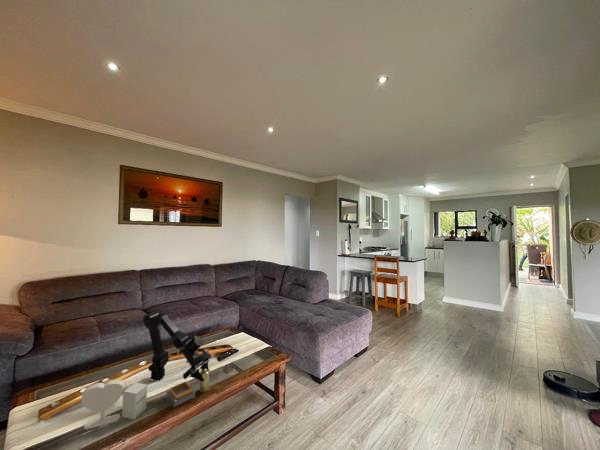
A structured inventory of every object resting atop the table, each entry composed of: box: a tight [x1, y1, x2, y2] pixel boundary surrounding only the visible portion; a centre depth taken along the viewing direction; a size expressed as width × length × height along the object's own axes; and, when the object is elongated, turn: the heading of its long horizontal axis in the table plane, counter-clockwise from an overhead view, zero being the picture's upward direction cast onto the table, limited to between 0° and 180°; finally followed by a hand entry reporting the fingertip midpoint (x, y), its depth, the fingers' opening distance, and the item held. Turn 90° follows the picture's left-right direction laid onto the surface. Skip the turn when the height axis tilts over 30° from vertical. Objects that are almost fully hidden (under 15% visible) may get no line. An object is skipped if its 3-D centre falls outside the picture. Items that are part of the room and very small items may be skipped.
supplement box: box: [121, 382, 148, 420], centre depth 124 cm, size 7×7×13 cm
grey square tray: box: [165, 381, 196, 408], centre depth 136 cm, size 11×11×5 cm
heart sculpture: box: [80, 379, 125, 430], centre depth 118 cm, size 16×5×18 cm, turn 118°
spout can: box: [198, 368, 211, 393], centre depth 142 cm, size 6×5×12 cm
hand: (206, 378), depth 142 cm, fingers closed on spout can, 5 cm apart
